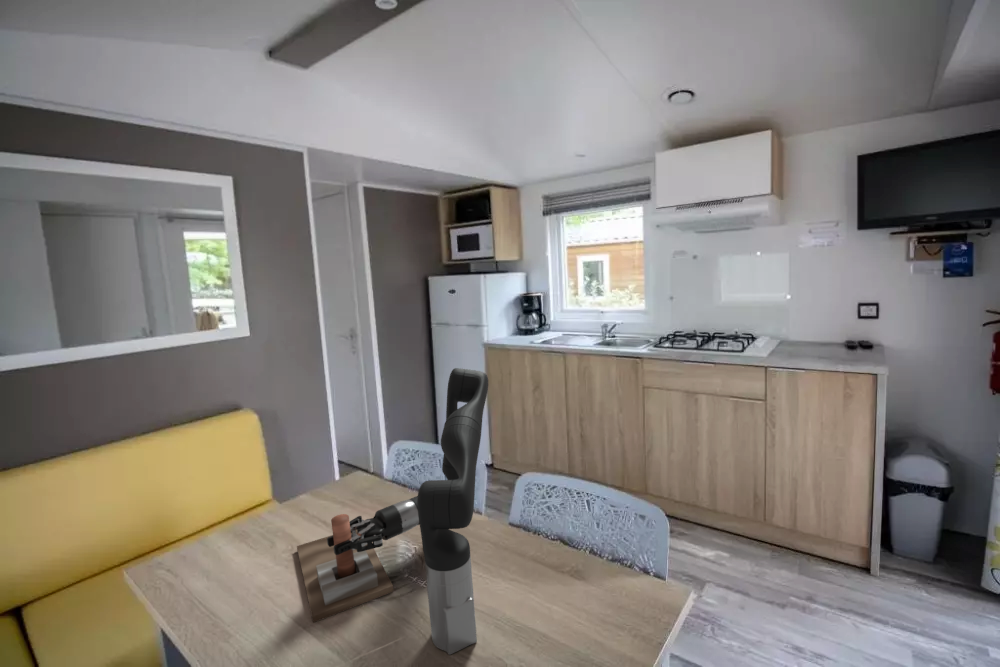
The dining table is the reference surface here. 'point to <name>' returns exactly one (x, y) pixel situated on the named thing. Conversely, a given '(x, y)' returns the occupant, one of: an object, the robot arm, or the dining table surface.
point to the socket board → (312, 585)
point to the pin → (340, 535)
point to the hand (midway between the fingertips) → (331, 546)
